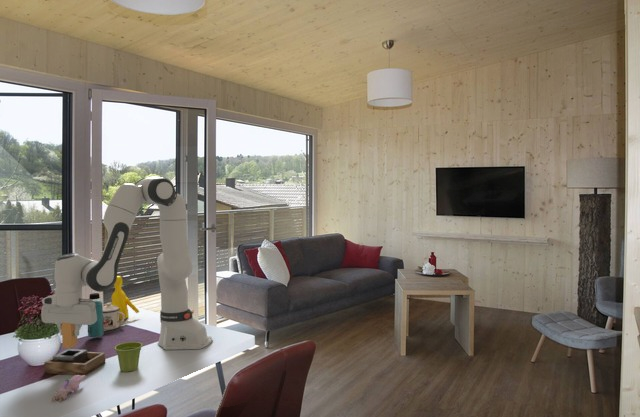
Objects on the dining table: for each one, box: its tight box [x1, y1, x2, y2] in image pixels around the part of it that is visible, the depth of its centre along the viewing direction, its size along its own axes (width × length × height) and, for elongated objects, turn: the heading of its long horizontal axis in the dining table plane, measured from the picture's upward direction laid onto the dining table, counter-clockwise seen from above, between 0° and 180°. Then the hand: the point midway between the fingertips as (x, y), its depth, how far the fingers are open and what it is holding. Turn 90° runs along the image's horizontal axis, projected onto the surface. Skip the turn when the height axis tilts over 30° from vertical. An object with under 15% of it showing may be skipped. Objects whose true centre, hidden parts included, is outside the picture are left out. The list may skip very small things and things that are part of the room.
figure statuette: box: [110, 275, 140, 321], centre depth 241 cm, size 18×8×22 cm, turn 85°
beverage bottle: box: [86, 292, 104, 338], centre depth 210 cm, size 6×7×20 cm
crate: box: [43, 351, 106, 377], centre depth 177 cm, size 16×12×4 cm
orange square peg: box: [61, 323, 78, 349], centre depth 177 cm, size 4×4×11 cm
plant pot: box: [114, 341, 143, 373], centre depth 176 cm, size 9×9×9 cm
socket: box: [52, 348, 88, 363], centre depth 177 cm, size 8×8×4 cm
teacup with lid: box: [102, 302, 125, 331], centre depth 226 cm, size 12×9×12 cm
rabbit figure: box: [51, 375, 86, 403], centre depth 156 cm, size 6×6×15 cm
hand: (69, 335), depth 177 cm, fingers closed on orange square peg, 3 cm apart
